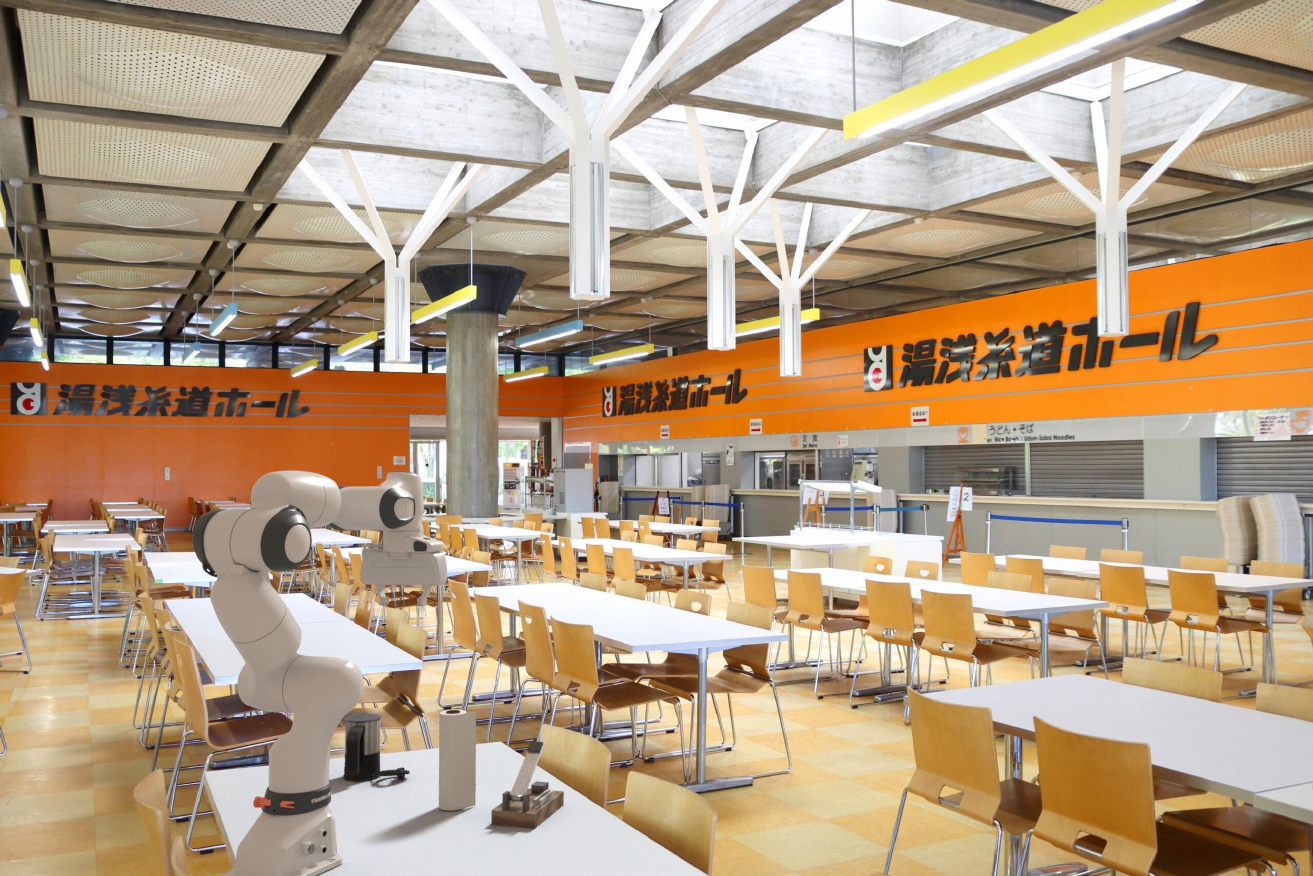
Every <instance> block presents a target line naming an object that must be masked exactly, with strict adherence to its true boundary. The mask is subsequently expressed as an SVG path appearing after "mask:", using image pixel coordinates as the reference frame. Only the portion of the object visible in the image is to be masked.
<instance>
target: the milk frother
mask: <svg viewBox="0 0 1313 876" xmlns="http://www.w3.org/2000/svg"><path fill="white" fill-rule="evenodd" d="M382 717H383V716H382V715H381V714H377V713H356V714H350V715H346V717H345V716H344V717H343V719H344V721H345V726H344V727H345V731H344V732H345V737H344V767H343V776H342V778H343V779H344V780H346V781H352V782H354V781H356V782H361V781H369V780H370V781H371V780H373V779H374V780H375V779H377V778H379V777H396V779H398V780H399V779H405V778H406V777H405V775H406V776H407V775H410V770H407V769H405V767H398V768H396V769H386V770H381V718H382Z"/></svg>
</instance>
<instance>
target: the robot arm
mask: <svg viewBox="0 0 1313 876" xmlns="http://www.w3.org/2000/svg"><path fill="white" fill-rule="evenodd" d="M251 489H252V490H251V492H250V504H251V506H250V508H235V509H234V508H232V509H231V508H225V507H224V508H218V509H213V510H209V511H207V512H205V513H204V514H202V515H201V516H199V518H198V519H197V520H196V522H195V525H194V527H193V530H192V537H191V542H192V547H193V550H194V552H195V553H194V554H195V556H196V557H197V559H198V560H199V562H200V563H201V567H202V570H203V571H204V572H205V573H206V574H207V575H209V576H211V577H213V578H216V580H215V582H214V583H213V585H212V587H211V590H210V595H209V597H210V602H211V604H212V607H213V610H214V613H215V616H216V618H217V620H218V622H219V624H220V625H221V627H222V629H223V630H224V633H225V634H226V635H227V637H228V638H229V639H230V641H231V643H232V644H233V645H234V647H235V648H236V650H237V651H238V653H239V654H240V655H241V657H242V659H243V660H244V662H245V664H244V665H243V666H242V668H241V669H240V672H239V674H238V677H237V683H236V684H237V685H236V687H237V693H238V697H239V699H240V700H241V702H242V703H243V704H245V705H246V706H248V707H251V708H254V709H257V710H261V711H263V712H264V711H265V712H268V713H269V712H270V713H285V714H292V715H293V721H292V724H291V725H292V726H291V728H290V730H289V731H288V732H286V733H285V734H283V735H281V736H280V737H277V739H276V740H275V741H274V742H273V743H272V745H271V747H270V749H269V752H268V756H269V757H268V786H267V788H266V789H265V793H264V796H255V797H254V799H253V801H252V806H253V808H256V809H258V808H261V810H262V811H261V813H260V815H258V816H257V819H256V820H255V822H254V823H253V824H252V826H251V827H250V829H249V830H248V832H247V833H246V834H245V836H244V837H243V839H242V840H241V841H240V842H239V844H238V846H237V850H236V854H235V865H234V866H233V867H232V868H231V869H229V870H228V871H227V872H226V873H224V874H223V875H222V876H319V875H321V874H322V873H324V872H327V871H328V870H331V869H334V868H336V867H338V866H340V865H342V864H343V858H342V856H341V855H340V854H338V846H337V845H338V843H337V842H338V841H337V830H336V829H337V828H336V820H335V817H334V815H333V813H332V811H331V807H330V803H331V801H332V793H333V792H332V791H333V790H332V782H331V781H330V760H331V759H330V757H331V750H332V749H331V747H332V741H333V738H334V734H335V733H336V730H337V728H338V726H339V724H340V723H341V721H342V720H343V719H344V718H345V716H347V715H348V714H349V713H350V712H352V711H353V710H354V709H355V708H356V707H357V706H358V704H359V702H360V701H361V699H362V697H363V694H364V689H365V682H364V681H365V680H364V676H363V673H362V671H361V669H360V667H359V666H358V665H357V664H356V663H354V662H351V661H348V660H345V659H341V658H338V657H334V656H333V657H332V656H316V655H315V656H314V655H313V656H311V655H304V654H299V653H298V650H299V649H300V646H301V642H302V629H301V627H300V625H299V623H298V622H297V620H296V618H295V617H294V616H293V614H292V612H291V611H290V609H289V608H288V606H287V605H286V602H285V601H284V600H283V598H282V597H281V596H280V595H279V593H278V592H277V590H276V589H275V588H274V587H273V585H272V582H271V580H270V576H269V575H270V573H269V572H274V573H283V572H284V573H285V572H289V571H294V570H296V569H299V568H300V567H301V566H302V565H303V564H304V562H305V561H306V559H307V558H308V556H310V553H311V549H312V545H313V544H312V542H313V541H312V540H313V537H312V531H311V529H316V528H322V527H326V526H329V527H330V528H332V529H333V530H335V531H338V532H347V531H348V532H349V531H383V537H382V538H383V539H382V543H381V542H379V543H373V542H371V543H368V544H367V545H364V547H363V548H362V549H361V564H360V570H359V571H360V572H359V580H360V581H361V584H363V585H373V586H374V590H375V593H376V595H377V596H378V598H379V599H378V601H379V602H378V603H379V605H380V606H387V605H388V606H389V604H390V596H387V595H386V593H385V591H384V589H386V585H387V586H388V585H390V586H419V587H420V586H421V591H423V592H422V594H421V597H418V598H416V602H417V604H416V605H417V607H426V606H427V604H428V597H429V595H430V594H431V592H432V589H433V587H439V586H444V585H445V584H446V582H447V580H448V565H447V564H448V563H447V559H446V556H445V554H444V553H443V551H444V549H445V543H444V542H443V541H441V540H438V539H435V538H433V537H431V536H428V535H424V532H425V531H424V530H425V529H424V525H423V515H424V512H425V509H424V508H425V507H424V505H425V503H424V502H425V501H424V489H423V482H422V478H421V477H420V475H418V474H417V473H415V472H413V471H412V472H411V471H405V470H394V471H391V472H389V471H388V473H387V475H386V478H385V480H384V481H383V482H381V483H380V484H378V485H376V486H375V485H374V486H373V485H371V486H360V485H358V486H355V485H354V486H353V485H338V484H337V483H336V481H335V480H333V479H332V478H329V477H328V476H326V475H323V474H320V473H316V472H313V471H305V470H304V471H303V470H278V471H270V472H267V473H266V474H264V475H262V476H260V477H259V478H258V479H257V480H256V481H255V483H254V485H253V487H252V488H251Z"/></svg>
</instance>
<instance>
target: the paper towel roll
mask: <svg viewBox="0 0 1313 876" xmlns="http://www.w3.org/2000/svg"><path fill="white" fill-rule="evenodd" d="M438 716H439V717H438V718H439V723H438V724H439V727H438V730H439V731H438V732H439V733H438V734H439V736H438V738H439V739H438V749H439V750H438V757H439V758H438V808H439V809H440V810H442V811H451V812H452V811H458V810H464V809H466V808H470V807H475V806H476V788H477V787H476V785H477V784H476V782H477V777H476V776H477V775H476V772H477V771H476V769H477V767H476V766H477V761H476V759H477V756H476V755H477V747H476V746H477V711H470V712H467V711H466V710H464V709H447V710H442V711H440V712H439V715H438Z"/></svg>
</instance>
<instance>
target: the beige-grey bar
mask: <svg viewBox="0 0 1313 876" xmlns="http://www.w3.org/2000/svg"><path fill="white" fill-rule="evenodd" d="M545 746H546V745H545V742H544V741H533V740H531V741H529V744H528V746H527V748H526V751H527V752H526V754H525V757H524V759H523V762H522V765H521V767H520V770H519V771H518V774H517V776H516V778H515V782H514V783H513V786H512V788H511V791H510V792H511V793H510V795H509V798H508V799H509V801H521V802H523V795H524V794H525V793H526V791H527V789H529V786H530V784H531V782H532V781H531V780H532V778H533V775H534V773H535V771H536V768H537V765H538V763H539V760H540V758H541V755H542V753H543V751H544V748H545Z"/></svg>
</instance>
